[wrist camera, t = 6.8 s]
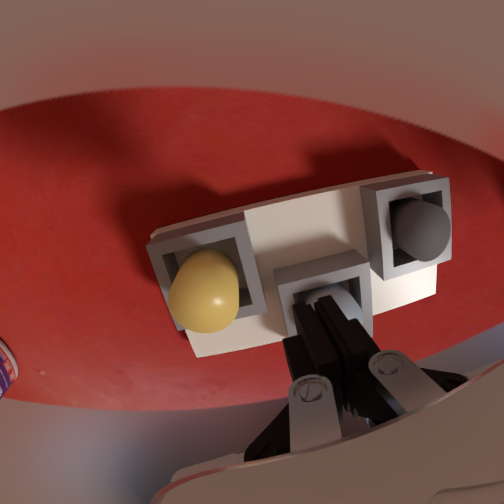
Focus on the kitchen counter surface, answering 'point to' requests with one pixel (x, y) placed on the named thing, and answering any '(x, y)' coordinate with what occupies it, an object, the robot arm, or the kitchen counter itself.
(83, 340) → the kitchen counter surface
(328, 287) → the slate button
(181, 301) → the mustard button
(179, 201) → the kitchen counter surface
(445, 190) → the console
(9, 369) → the pill bottle
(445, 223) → the charcoal button
